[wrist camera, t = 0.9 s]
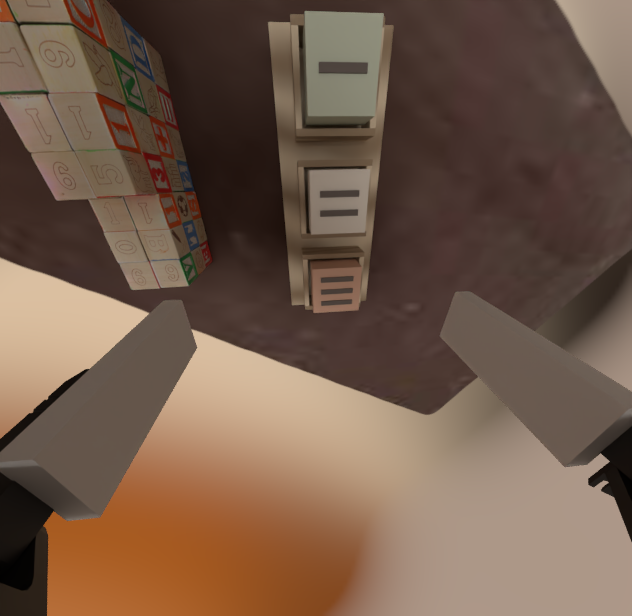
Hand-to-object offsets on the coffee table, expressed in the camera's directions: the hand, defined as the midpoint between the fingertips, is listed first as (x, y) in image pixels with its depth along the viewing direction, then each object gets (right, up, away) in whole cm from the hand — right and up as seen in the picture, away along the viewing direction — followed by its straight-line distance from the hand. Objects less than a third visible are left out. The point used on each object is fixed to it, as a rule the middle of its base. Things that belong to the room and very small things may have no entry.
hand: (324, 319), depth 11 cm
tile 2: (+2, +13, +15) cm, 20 cm away
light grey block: (+1, +22, +10) cm, 24 cm away
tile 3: (+2, +4, +20) cm, 20 cm away
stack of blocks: (-19, +17, +16) cm, 30 cm away
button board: (+1, +15, +19) cm, 24 cm away
